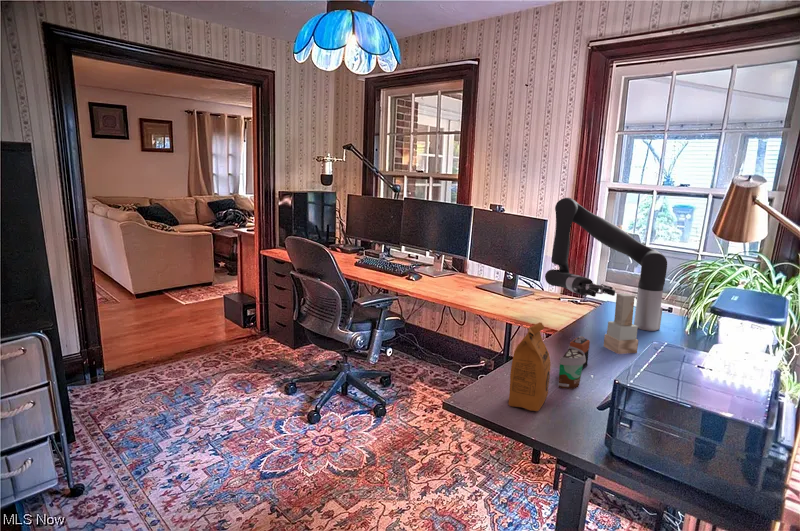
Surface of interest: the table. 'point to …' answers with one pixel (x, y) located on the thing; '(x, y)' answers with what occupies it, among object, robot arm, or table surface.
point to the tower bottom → (620, 345)
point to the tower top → (622, 331)
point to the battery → (581, 346)
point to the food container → (571, 368)
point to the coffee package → (530, 371)
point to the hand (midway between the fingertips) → (604, 293)
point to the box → (624, 309)
